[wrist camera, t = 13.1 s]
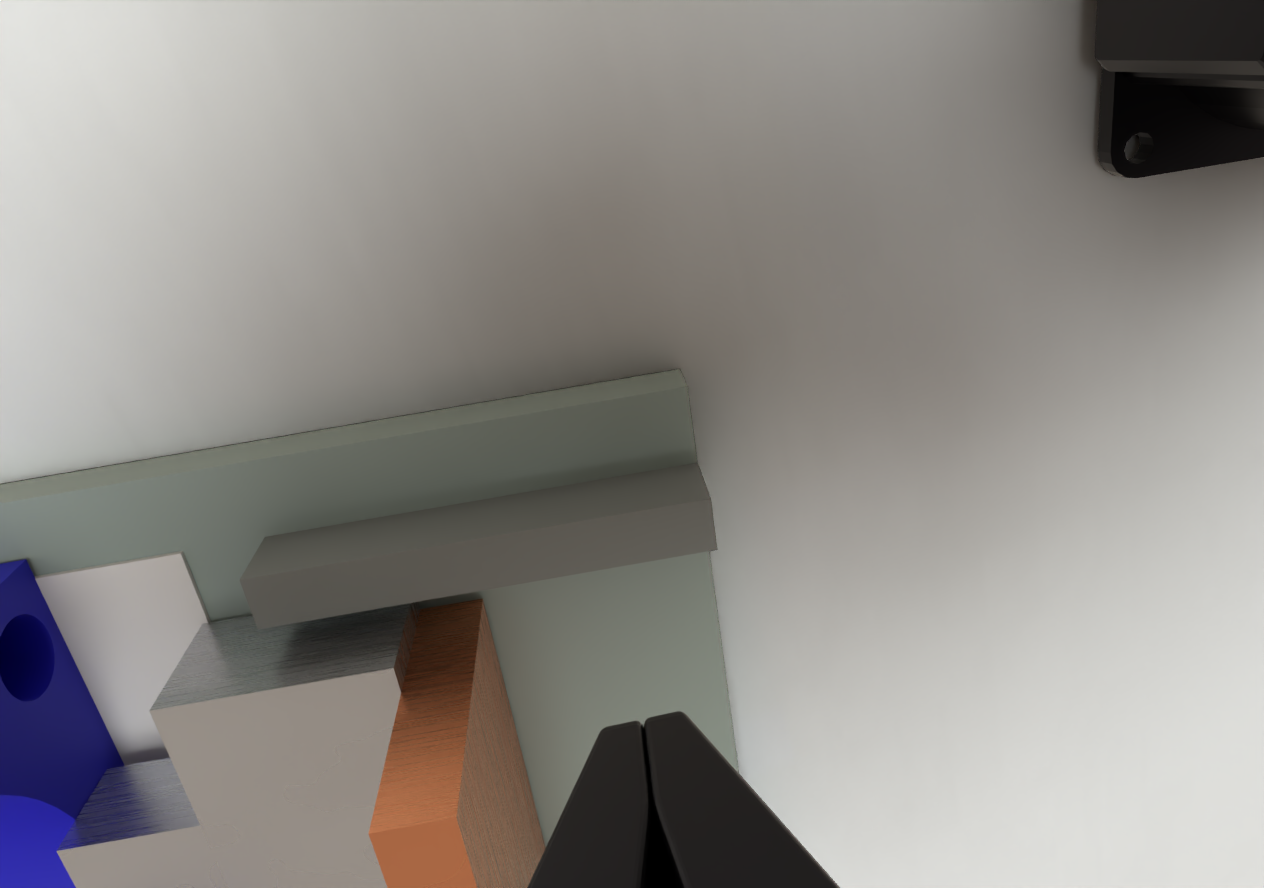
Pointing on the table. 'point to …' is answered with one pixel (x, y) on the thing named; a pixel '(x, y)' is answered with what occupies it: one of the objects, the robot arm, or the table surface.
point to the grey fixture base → (411, 557)
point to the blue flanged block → (42, 737)
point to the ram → (323, 763)
